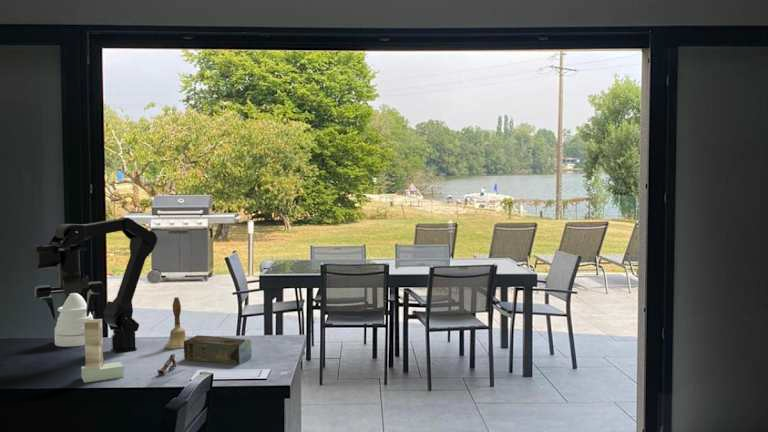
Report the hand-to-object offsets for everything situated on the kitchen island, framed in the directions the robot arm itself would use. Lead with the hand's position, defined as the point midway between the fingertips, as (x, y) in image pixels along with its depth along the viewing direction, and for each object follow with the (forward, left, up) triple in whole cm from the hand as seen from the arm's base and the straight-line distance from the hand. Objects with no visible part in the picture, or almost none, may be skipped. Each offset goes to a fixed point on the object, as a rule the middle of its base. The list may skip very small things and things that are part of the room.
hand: (71, 317), depth 209 cm
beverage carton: (-38, +21, -14) cm, 46 cm away
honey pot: (-4, -26, -13) cm, 29 cm away
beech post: (-3, +24, -10) cm, 26 cm away
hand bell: (-32, -2, -13) cm, 35 cm away
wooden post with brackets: (-22, +28, -13) cm, 38 cm away
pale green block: (-5, +24, -13) cm, 28 cm away
